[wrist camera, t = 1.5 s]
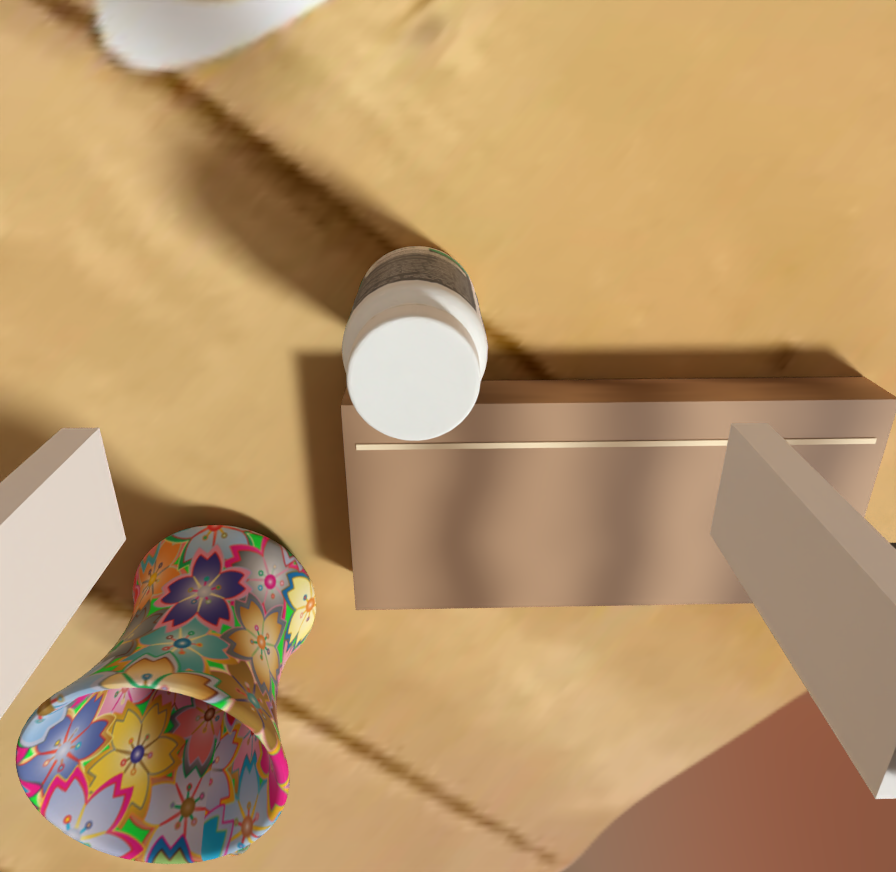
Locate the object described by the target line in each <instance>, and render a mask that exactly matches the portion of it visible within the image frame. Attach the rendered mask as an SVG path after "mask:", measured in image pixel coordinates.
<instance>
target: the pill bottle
mask: <svg viewBox="0 0 896 872" xmlns="http://www.w3.org/2000/svg"><path fill="white" fill-rule="evenodd" d="M487 353H488V344H487V337H486V332H485V328H484V324H483V321H482V317H481V313H480V308H479V303H478V299H477V296H476V293H475V290H474V287H473V284H472V281H471V279H470V277H469V276H468V274H467V272H466V271H465V270H464V268H463V267H462V266H461V265H460V264H459V263H458V262H457V261H456V260H455V259H453V258H452V257H451V256H449V255H448V254H446V253H444V252H442V251H440V250H437V249H434V248H430V247H424V246H410V247H404V248H400V249H397V250H394V251H391V252H389V253H387V254H385V255H384V256H383V257H381V258H380V259H378V260H377V261H376V262H375V263H374V264H373V265H372V266H371V267H370V269H369V270H368V271H367V273H366V275H365V276H364V278H363V280H362V282H361V285H360V287H359V291H358V293H357V296H356V298H355V301H354V305H353V307H352V311H351V314H350V317H349V319H348V322H347V325H346V328H345V331H344V336H343V342H342V357H343V364H344V368H345V371H346V381H347V389H348V393H349V396H350V399H351V401H352V403H353V405H354V407H355V409H356V411H357V412H358V414H359V415H360V416H361V417H362V418H363V419H364V420H365V421H366V422H367V423H368V424H369V425H370V426H371V427H373V428H374V429H376V430H377V431H379V432H381V433H383V434H385V435H387V436H390V437H393V438H397V439H401V440H409V441H421V440H427V439H432V438H435V437H438V436H441V435H443V434H445V433H447V432H449V431H451V430H452V429H454V428H455V427H456V426H458V425H459V424H460V423H461V422H462V421H463V420H464V419H465V418H466V417H467V415H468V414H469V413H470V411H471V410H472V408H473V406H474V404H475V402H476V400H477V397H478V394H479V390H480V383H481V379H482V377H483V375H484V372H485V368H486V363H487Z"/></svg>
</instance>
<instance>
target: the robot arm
mask: <svg viewBox="0 0 896 872" xmlns="http://www.w3.org/2000/svg"><path fill="white" fill-rule="evenodd" d="M710 535H711V536H712V538H713V540H714V541H715V543H716V544H717V546H718V548H719V549H720V551H721V552H722V554H723V556H724V557H725V559H726V560H727V562H728V564H729V565H730V567H731V568H732V570H733V572H734V573H735V575H736V576H737V578H738V580H739V581H740V583H741V584H742V586H743V588H744V589H745V591H746V592H747V594H748V596H749V597H750V599H751V600H752V602H753V604H754V605H755V607H756V608H757V610H758V612H759V613H760V615H761V616H762V618H763V620H764V621H765V623H766V624H767V626H768V628H769V629H770V631H771V632H772V634H773V636H774V637H775V639H776V640H777V642H778V644H779V645H780V647H781V648H782V650H783V652H784V653H785V655H786V656H787V658H788V660H789V661H790V663H791V664H792V666H793V668H794V669H795V671H796V672H797V674H798V676H799V677H800V679H801V680H802V682H803V684H804V685H805V687H806V688H807V690H808V692H809V693H810V695H811V696H812V698H813V700H814V701H815V703H816V704H817V706H818V708H819V709H820V711H821V712H822V714H823V716H824V717H825V719H826V720H827V722H828V724H829V725H830V727H831V728H832V730H833V732H834V733H835V735H836V736H837V738H838V740H839V741H840V743H841V744H842V746H843V748H844V749H845V751H846V752H847V754H848V756H849V757H850V759H851V760H852V762H853V763H854V765H855V767H856V768H857V770H858V772H859V773H860V775H861V776H862V778H863V780H864V781H865V783H866V784H867V786H868V788H869V789H870V791H871V792H872V794H873V796H874V797H875V798H876V799H884V798H885V799H887V798H888V799H890V798H896V543H889V542H888V541H887V540H886V539H885V538H884V537H883V536H882V535H881V534H880V533H879V532H878V531H877V530H876V529H875V528H874V527H873V526H872V525H871V524H870V523H869V522H868V521H867V520H866V519H865V518H864V517H863V516H862V515H861V514H860V513H859V512H857V511H856V510H855V509H854V508H853V507H852V506H851V505H850V504H849V503H848V502H847V501H846V500H845V499H844V498H843V497H842V496H841V495H840V494H839V493H838V492H837V491H836V490H835V489H834V488H833V487H832V486H831V485H830V484H829V483H828V482H827V481H826V480H825V479H824V478H823V477H822V476H821V475H820V474H819V473H818V472H817V471H816V470H815V469H814V468H813V467H812V466H811V465H810V464H809V463H808V462H807V461H806V460H805V459H804V458H803V457H802V456H801V455H800V454H799V453H798V452H797V451H796V450H795V449H794V448H793V447H792V446H791V445H790V444H789V443H788V442H787V441H786V440H785V439H783V438H782V437H781V436H780V435H779V434H778V433H777V432H776V431H775V430H774V429H773V428H772V427H771V426H770V425H769V424H768V423H731V428H730V433H729V438H728V443H727V448H726V454H725V459H724V464H723V469H722V474H721V479H720V485H719V490H718V495H717V500H716V505H715V510H714V516H713V521H712V526H711V531H710ZM125 540H126V537H125V532H124V528H123V524H122V520H121V516H120V512H119V508H118V503H117V499H116V495H115V491H114V487H113V483H112V478H111V474H110V470H109V466H108V462H107V458H106V454H105V449H104V445H103V441H102V437H101V433H100V429H99V428H61V429H60V430H59V431H58V432H57V433H56V434H55V435H54V436H52V437H51V438H50V439H49V440H48V441H47V442H46V443H45V444H43V445H42V446H41V447H40V448H39V449H38V450H37V451H36V452H34V453H33V454H32V455H31V456H30V457H29V458H28V459H26V460H25V461H24V462H23V463H22V464H21V465H20V466H19V467H17V468H16V469H15V470H14V471H13V472H12V473H11V474H10V475H8V476H7V477H6V478H5V479H4V480H3V481H2V482H1V483H0V719H1V717H2V716H3V715H4V713H5V712H6V710H7V709H8V707H9V706H10V705H11V703H12V702H13V700H14V699H15V697H16V696H17V695H18V693H19V692H20V690H21V689H22V687H23V686H24V685H25V683H26V682H27V680H28V679H29V677H30V676H31V675H32V673H33V672H34V670H35V669H36V667H37V666H38V665H39V663H40V662H41V660H42V659H43V657H44V656H45V655H46V653H47V652H48V650H49V649H50V647H51V646H52V645H53V643H54V642H55V640H56V639H57V637H58V636H59V635H60V633H61V632H62V630H63V629H64V627H65V626H66V625H67V623H68V622H69V620H70V619H71V617H72V616H73V615H74V613H75V612H76V610H77V609H78V607H79V606H80V605H81V603H82V602H83V600H84V599H85V597H86V596H87V595H88V593H89V592H90V590H91V589H92V587H93V586H94V585H95V583H96V582H97V580H98V579H99V577H100V576H101V575H102V573H103V572H104V570H105V569H106V567H107V566H108V565H109V563H110V562H111V560H112V559H113V557H114V556H115V555H116V553H117V552H118V550H119V549H120V547H121V546H122V545H123V543H124V542H125Z"/></svg>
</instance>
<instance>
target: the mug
mask: <svg viewBox="0 0 896 872" xmlns="http://www.w3.org/2000/svg"><path fill="white" fill-rule="evenodd" d="M133 602H134V611H133V614H132V617H131V620H130V622H129V624H128V626H127V628H126V630H125V632H124V633H123V635H122V636H121V638H120V639H119V641H118V642H117V643H116V645H115V646H114V647H113V648H112V649H111V651H110V652H109V653H108V654H107V655H106V656H105V657H104V658H103V659H102V660H101V661H100V662H99V663H98V664H97V665H96V666H94V667H93V668H92V669H91V670H90V671H89V672H87V673H86V674H85V675H84V676H82V677H81V678H79V679H78V680H77V681H75V682H73V683H72V684H70V685H69V686H67V687H66V688H64V689H62V690H61V691H59V692H57V693H56V694H54V695H53V696H51V697H50V698H49V699H47V700H46V701H45V702H44V703H42V704H41V705H40V706H39V707H38V708H37V709H36V710H35V711H34V712H33V714H32V715H31V716H30V718H29V719H28V720H27V722H26V724H25V726H24V727H23V729H22V731H21V734H20V736H19V739H18V744H17V749H16V768H17V773H18V777H19V780H20V782H21V785H22V787H23V789H24V791H25V793H26V795H27V796H28V798H29V799H30V801H31V802H32V804H33V805H34V806H35V807H36V809H37V810H38V811H39V812H40V813H41V814H42V815H43V816H44V817H45V818H46V819H47V820H48V821H49V822H50V823H52V824H53V825H54V826H55V827H56V828H58V829H59V830H61V831H62V832H63V833H65V834H67V835H68V836H70V837H71V838H73V839H75V840H77V841H79V842H81V843H83V844H84V845H87V846H89V847H91V848H94V849H96V850H98V851H101V852H104V853H107V854H110V855H113V856H117V857H120V858H125V859H129V860H134V861H140V862H148V863H160V864H182V863H193V862H200V861H206V860H210V859H215V858H218V857H221V856H225V855H226V856H236V855H240V854H242V853H244V852H245V851H246V850H247V849H248V848H249V846H250V844H251V843H252V842H254V841H255V840H257V839H258V838H259V837H261V836H262V835H263V834H264V833H265V832H266V831H267V830H269V828H270V827H271V826H272V825H273V824H274V823H275V821H276V820H277V818H278V817H279V815H280V814H281V812H282V810H283V807H284V805H285V802H286V799H287V795H288V790H289V771H288V764H287V760H286V757H285V754H284V751H283V747H282V744H281V740H280V735H279V730H278V723H277V692H278V685H279V680H280V676H281V673H282V670H283V667H284V665H285V663H286V661H287V659H288V658H289V656H290V655H291V654H292V653H294V652H295V651H296V650H297V649H298V648H299V647H300V646H301V645H302V643H303V642H304V641H305V639H306V638H307V636H308V634H309V633H310V631H311V628H312V626H313V623H314V620H315V614H316V598H315V593H314V588H313V585H312V582H311V580H310V578H309V576H308V574H307V572H306V571H305V569H304V568H303V566H302V565H301V564H300V562H299V561H298V560H297V559H296V558H295V557H294V556H293V555H292V554H291V553H290V552H289V551H288V550H286V549H285V548H284V547H282V546H281V545H280V544H278V543H276V542H275V541H273V540H272V539H270V538H268V537H266V536H264V535H261V534H259V533H257V532H254V531H251V530H248V529H243V528H239V527H233V526H225V525H206V526H198V527H192V528H188V529H185V530H182V531H179V532H176V533H174V534H172V535H170V536H168V537H166V538H165V539H163V540H162V541H160V542H159V543H158V544H157V545H155V546H154V547H153V548H152V549H151V550H150V551H149V552H148V553H147V554H146V555H145V557H144V558H143V559H142V561H141V563H140V564H139V567H138V569H137V571H136V574H135V578H134V584H133Z"/></svg>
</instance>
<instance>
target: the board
mask: <svg viewBox="0 0 896 872" xmlns="http://www.w3.org/2000/svg"><path fill="white" fill-rule="evenodd" d="M895 414H896V397H895V396H894V395H892V394H891V393H889V392H887V391H886V390H884V389H883V388H881V387H880V386H878V385H876V384H875V383H873V382H872V381H870V380H869V379H867V378H865V377H791V378H693V379H595V380H497V381H481V383H480V390H479V394H478V397H477V400H476V402H475V404H474V406H473V408H472V410H471V411H470V413H469V414H468V415H467V417H466V418H465V419H464V420H463V421H462V422H461V423H460V424H459V425H458V426H456V427H455V428H454V429H452V430H451V431H449V432H447V433H445V434H443V435H441V436H438V437H435V438H432V439H427V440H421V441H409V440H401V439H397V438H393V437H390V436H387V435H385V434H383V433H381V432H379V431H377V430H376V429H374V428H373V427H371V426H370V425H369V424H368V423H367V422H366V421H365V420H364V419H363V418H362V417H361V416H360V415H359V414H358V412H357V411H356V409H355V407H354V405H353V403H352V401H351V399H350V396H349V393H348V389H347V386H346V389H345V393H344V396H343V400H342V403H341V415H342V429H343V442H344V456H345V470H346V483H347V497H348V510H349V524H350V538H351V551H352V565H353V578H354V592H355V606H356V610H386V609H444V608H502V607H560V606H618V605H676V604H734V603H753V602H752V600H751V599H750V597H749V596H748V594H747V592H746V591H745V589H744V588H743V586H742V584H741V583H740V581H739V580H738V578H737V576H736V575H735V573H734V572H733V570H732V568H731V567H730V565H729V564H728V562H727V560H726V559H725V557H724V556H723V554H722V552H721V551H720V549H719V548H718V546H717V544H716V543H715V541H714V540H713V538H712V536H711V535H710V531H711V526H712V521H713V516H714V510H715V505H716V500H717V495H718V490H719V485H720V479H721V474H722V469H723V464H724V459H725V454H726V448H727V443H728V438H729V433H730V428H731V423H768V424H769V425H770V426H771V427H772V428H773V429H774V430H775V431H776V432H777V433H778V434H779V435H780V436H781V437H782V438H783V439H785V440H786V441H787V442H788V443H789V444H790V445H791V446H792V447H793V448H794V449H795V450H796V451H797V452H798V453H799V454H800V455H801V456H802V457H803V458H804V459H805V460H806V461H807V462H808V463H809V464H810V465H811V466H812V467H813V468H814V469H815V470H816V471H817V472H818V473H819V474H820V475H821V476H822V477H823V478H824V479H825V480H826V481H827V482H828V483H829V484H830V485H831V486H832V487H833V488H834V489H835V490H836V491H837V492H838V493H839V494H840V495H841V496H842V497H843V498H844V499H845V500H846V501H847V502H848V503H849V504H850V505H851V506H852V507H853V508H854V509H855V510H856V511H857V512H859V513H860V514H861V515H862V516H863V517H864V516H865V513H866V510H867V507H868V503H869V500H870V497H871V493H872V490H873V487H874V483H875V480H876V477H877V473H878V470H879V467H880V463H881V460H882V457H883V453H884V450H885V447H886V443H887V440H888V437H889V433H890V430H891V427H892V423H893V420H894V417H895Z"/></svg>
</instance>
